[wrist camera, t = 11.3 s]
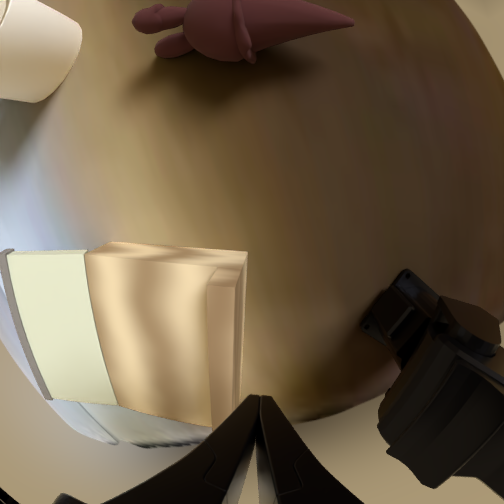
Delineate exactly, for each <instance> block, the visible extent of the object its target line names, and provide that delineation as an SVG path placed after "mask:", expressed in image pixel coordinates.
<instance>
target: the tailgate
mask: <svg viewBox="0 0 504 504" xmlns="http://www.w3.org/2000/svg"><path fill="white" fill-rule="evenodd" d="M86 253H88V250H55V251H14V249H5V250H4V251H2V252H0V270H1V275H2V279H3V284H4V288H5V292H6V296H7V300H8V304H9V308H10V311H11V315H12V318H13V321H14V324H15V328H16V331H17V334H18V337H19V339H20V342H21V345H22V348H23V350H24V353H25V355H26V358H27V360H28V363H29V365H30V368H31V370H32V372H33V375H34V377H35V379H36V381H37V383H38V385H39V388H40V390H41V392H42V394H43V396H44V398H45V399H47V400H53V398H55V399H61V400H68V401H76V402H85V403H95V404H107V405H118V401H117V398H116V395H115V393H114V389H113V386H112V383H111V380H110V377H109V374H108V370H107V367H106V363H105V360H104V356H103V352H102V348H101V345H100V340H99V336H98V332H97V328H96V323H95V318H94V313H93V308H92V303H91V297H90V292H89V285H88V279H87V272H86V264H85V255H84V254H86Z"/></svg>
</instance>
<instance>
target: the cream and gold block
mask: <svg viewBox="0 0 504 504" xmlns="http://www.w3.org/2000/svg"><path fill="white" fill-rule="evenodd" d="M84 255H85V264H86V272H87V279H88V285H89V292H90V297H91V303H92V308H93V313H94V318H95V323H96V328H97V332H98V336H99V340H100V345H101V348H102V352H103V356H104V360H105V363H106V367H107V370H108V374H109V377H110V380H111V383H112V386H113V389H114V393H115V395H116V398H117V401H118V404H119V406H122V407H125V408H128V409H132V410H135V411H139V412H142V413H146V414H150V415H154V416H158V417H162V418H166V419H171V420H175V421H180V422H185V423H190V424H196V425H202V426H208V427H212V432H213V431H214V430H215V429H216V428H217V427H218V426H219V425H220V424H221V423H222V422H223V421H224V420H225V419H226V418H227V417H228V416H229V415H230V414H231V413H232V412H233V411H234V410H235V409H236V408H237V407H238V406H239V405H240V402H241V380H242V358H243V337H244V316H245V296H246V276H247V256H248V252H244V251H230V250H217V249H203V248H190V247H176V246H163V245H149V244H136V243H122V242H109V243H107V244H105V245H103V246H101V247H98V248H96V249H94V250H92V251H90V252H88V253H86V254H84Z"/></svg>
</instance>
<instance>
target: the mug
mask: <svg viewBox="0 0 504 504" xmlns="http://www.w3.org/2000/svg"><path fill="white" fill-rule="evenodd" d="M81 42H82V30H81V28H80V26H79V24H78V23H77V22H75V21H73V20H72V19H70V18H68V17H66V16H65V15H63V14H61V13H59V12H57V11H56V10H54V9H52V8H50V7H48V6H46V5H44V4H43V3H41V2H39V1H37V0H0V98H2V99H10V100H17V101H24V102H30V103H36V102H39V101H41V100H44V99H45V98H46V97H48V96H49V95H50V94H52V93H53V92H54V91H55V90H56V89H57V87H58V86H59V85H60V84H61V83H62V82H63V81H64V79H65V77H66V76H67V74H68V73H69V71H70V70H71V68H72V67H73V64H74V62H75V60H76V58H77V55H78V53H79V50H80V46H81Z"/></svg>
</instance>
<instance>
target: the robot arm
mask: <svg viewBox="0 0 504 504" xmlns="http://www.w3.org/2000/svg"><path fill="white" fill-rule="evenodd" d="M407 273H409V275H408V276H407V277H405V276H406V274H407ZM367 324H368V326H367V327H364V326H365V325H367ZM360 327H361V329H362V331H363V332H365V333H367V334H368V335H370V336H371V337H373V338H374V339H376V340H378V341H379V342H381V343H382V344H384V345H385V346H387V347H388V349H389V350H390V352H391V354H392V356H393V358H394V359H395V361H396V363H397V365H398V367H399V369H400V370H401V373H400V374H399V376H398V377H397V379H396V381H395V382H394V384H393V385H392V387H391V388H389V389H388V391H387V392H386V393H385V398H384V399H383V401H382V402H381V404H380V407H379V409H378V418H379V423H378V424H377V428H378V429H379V432H380V434H381V436H382V437H383V439H384V440H385V441H386V443H387V444H388V445H390V448H388V449H387V450H386V453H387V454H389V455H390V456H392V457H394V458H396V459H398V460H399V461H401V462H402V463H403V464H405V465H406V466H407V467H408V468H409V469H410V470H411V471H412V472H413V474H414V475H415V476H416V478H417V479H418V480H419V481H420V483H421V484H423V485H425V486H427V487H430V488H433V489H435V488H438V487H439V486H440V485H441V484H443V483H444V482H445V481H446V480H448V479H449V478H450V477H451V476H455V477H474V478H476V479H478V480H480V481H481V482H482V483H484V484H485V485H486V486H487V487H488V488H490V489H491V490H492V491H493V492H494V493H496V494H497V495H498V496H499V497H500V498H501V499H503V500H504V348H503V347H501V346H500V344H501V335H500V328H499V321H498V319H496V318H495V317H493V316H492V315H491V314H489V313H488V312H486V311H485V310H483V309H482V308H480V307H478V306H475V305H472V304H468V303H465V302H461V301H458V300H455V299H451V298H448V297H445V296H441V295H440V297H439V296H438V295H437V294H436V293H435V292H434V291H433V290H432V289H431V288H430V287H429V286H427V285H426V284H425V283H424V282H423V281H422V280H421V279H420V278H419V277H417V276H416V275H415V274H414V273H413V272H412V271H411V270H409V269H404V270H403V271H402V272H401V274H400V275H399V276H398V278H397V279H396V280H395V282H394V283H393V284H392V286H390V287H389V288H388V289H387V291H386V292H385V293H384V294H383V296H382V297H381V298H380V299H379V301H378V302H377V303H376V304H375V306H374V307H373V308H372V311H371V312H370V313H369V314H368V315H367V317H366V318H365V319H364V320H363V321H362V323H361V325H360ZM256 432H257V433H256ZM255 441H256V460H257V476H258V490H259V504H364V503H363V502H362V501H361V500H359V499H358V498H357V497H356V496H355V495H353V494H352V493H351V492H350V491H349V490H348V489H347V488H346V487H344V486H343V485H342V484H341V483H340V482H339V481H338V480H337V479H336V478H335V477H333V475H331V474H330V473H329V472H328V471H327V470H326V469H325V468H324V467H323V466H322V465H321V463H320V462H319V461H318V460H317V459H316V457H315V456H314V455H313V454H312V452H311V451H310V450H309V449H308V447H307V446H306V445H305V443H304V442H303V441H302V439H301V438H300V437H299V435H298V434H297V432H296V431H295V430H294V428H293V427H292V425H291V424H290V423H289V421H288V420H287V418H286V417H285V415H284V414H283V413H282V411H281V410H280V408H279V407H278V405H277V404H276V402H275V401H274V399H273V398H272V397H271V396H264V395H262V396H259V395H252V394H250V395H248V396H247V397H246V398H245V400H244V401H243V402H242V403H241V404H240V405H239V406H238V407H237V408H236V409H235V410H234V411H233V412H232V413H231V414H230V415H229V416H228V417H227V418H226V419H225V420H224V421H223V422H222V423H221V424H220V425H219V426H218V427H217V428H216V429H215V430H214V431H213V432H212V433H211V434H210V435H209V436H208V437H207V438H206V439H205V440H204V441H202V442H201V443H200V444H199V445H198V446H197V447H196V448H195V449H193V450H192V451H191V452H190V453H189V454H187V455H186V456H184V457H183V458H182V459H180V460H179V461H177V462H176V463H174V464H173V465H171V466H169V467H168V468H166V469H164V470H163V471H161V472H160V473H158V474H156V475H155V476H153V477H151V478H149V479H148V480H146V481H144V482H143V483H141V484H139V485H137V486H135V487H133V488H132V489H130V490H128V491H126V492H124V493H122V494H120V495H118V496H116V497H114V498H112V499H110V500H108V501H106V502H104V503H102V504H238V501H239V498H240V495H241V491H242V488H243V485H244V481H245V478H246V474H247V471H248V468H249V464H250V461H251V457H252V454H253V450H254V446H255ZM0 504H19V503H18V502H17V501H16V500H14V499H13V498H12V497H11V496H9V495H8V494H7V493H6V492H5V491H4V490H2V489H1V488H0ZM53 504H87V503H84V502H82V501H80V500H78V499H76V498H74V497H72V496H70V495H68V494H65V493H61V494H60V495H59V496H58V497H57V498H56V499H55V501H54V503H53Z"/></svg>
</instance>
